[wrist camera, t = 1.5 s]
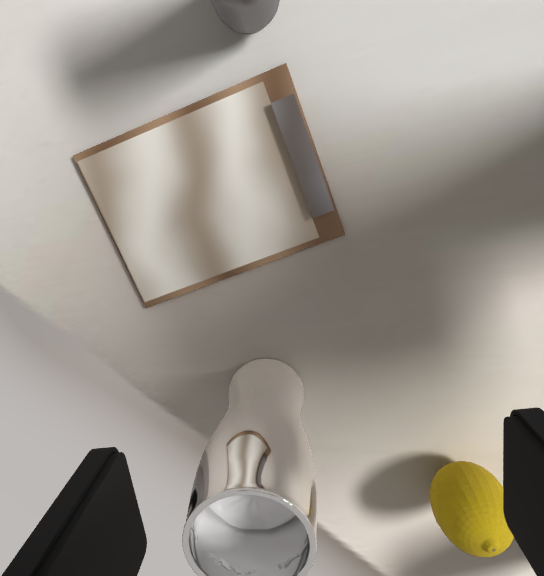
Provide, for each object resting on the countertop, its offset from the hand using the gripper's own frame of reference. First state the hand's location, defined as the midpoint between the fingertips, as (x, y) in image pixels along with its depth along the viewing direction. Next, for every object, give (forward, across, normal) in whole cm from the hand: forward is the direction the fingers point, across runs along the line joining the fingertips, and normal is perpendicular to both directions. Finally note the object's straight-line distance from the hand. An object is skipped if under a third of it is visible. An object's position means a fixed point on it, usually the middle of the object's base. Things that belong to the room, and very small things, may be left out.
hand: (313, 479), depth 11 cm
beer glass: (+23, +4, +10) cm, 25 cm away
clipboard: (+23, +6, -6) cm, 24 cm away
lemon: (+23, -11, +19) cm, 32 cm away
